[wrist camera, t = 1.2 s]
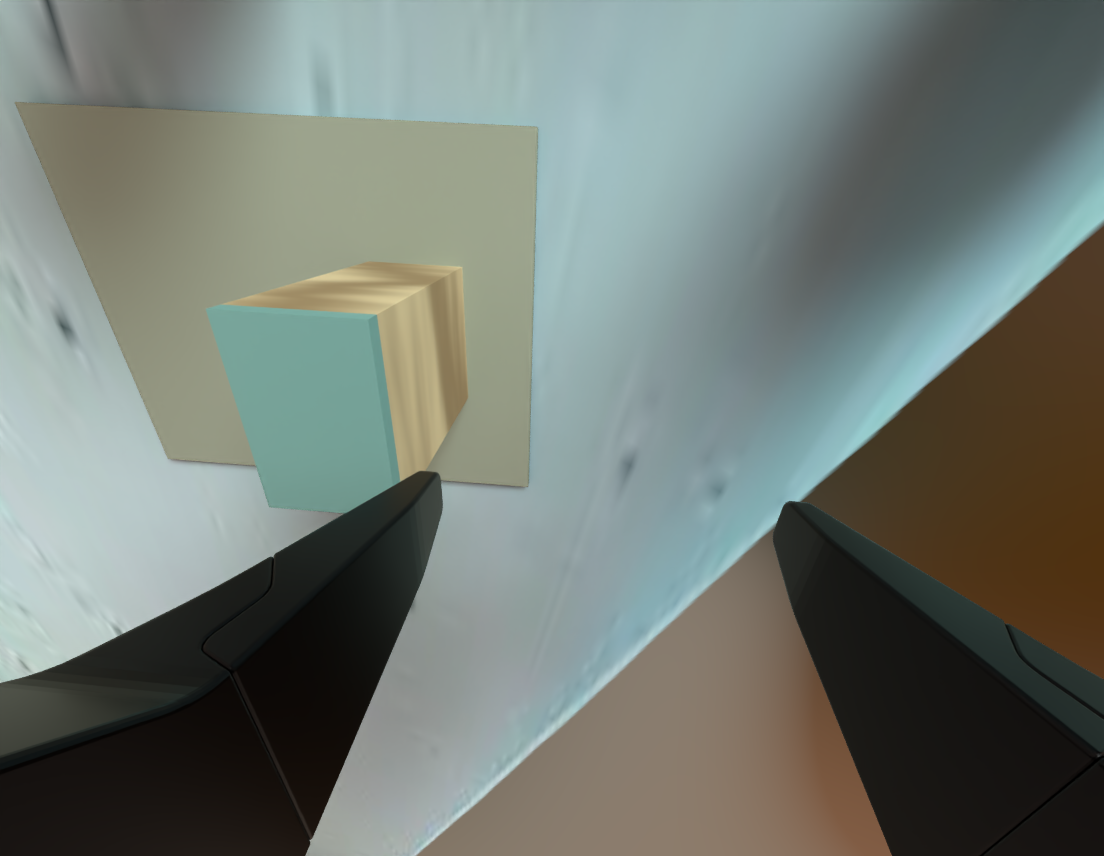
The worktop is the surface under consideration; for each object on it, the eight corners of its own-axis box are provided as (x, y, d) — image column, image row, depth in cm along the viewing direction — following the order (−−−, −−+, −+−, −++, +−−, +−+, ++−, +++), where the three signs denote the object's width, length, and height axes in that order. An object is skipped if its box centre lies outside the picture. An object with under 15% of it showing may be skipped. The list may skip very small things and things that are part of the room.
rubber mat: (538, 128, 16) (537, 126, 16) (528, 482, 24) (527, 486, 23) (26, 103, 17) (14, 102, 17) (174, 454, 24) (167, 458, 24)
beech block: (462, 266, 18) (368, 319, 10) (468, 397, 21) (397, 517, 13) (369, 261, 18) (205, 309, 11) (387, 391, 21) (269, 507, 13)
